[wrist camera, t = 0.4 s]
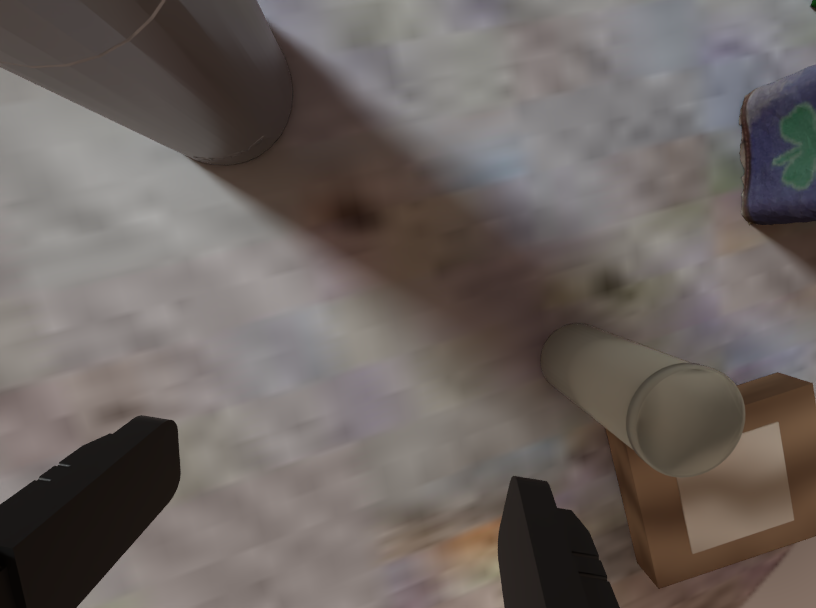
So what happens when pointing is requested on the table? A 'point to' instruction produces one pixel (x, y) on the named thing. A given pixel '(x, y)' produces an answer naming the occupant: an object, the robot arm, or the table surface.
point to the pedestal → (728, 490)
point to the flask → (780, 150)
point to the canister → (647, 398)
